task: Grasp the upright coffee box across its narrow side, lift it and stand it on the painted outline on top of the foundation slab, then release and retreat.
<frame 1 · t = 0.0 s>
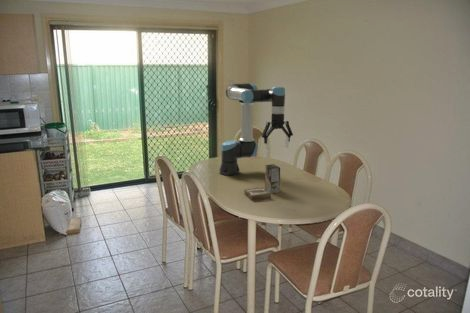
hand: (276, 148, 215), 28 cm above the table, fingers open, 13 cm apart
coffee box: (272, 190, 224), on the table
foundation slab: (257, 196, 214), on the table
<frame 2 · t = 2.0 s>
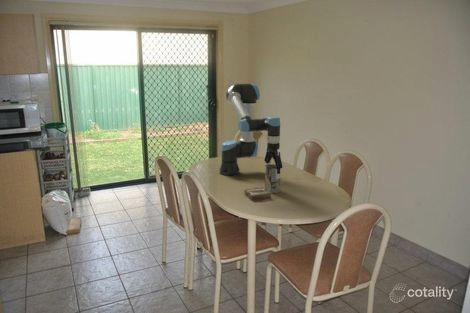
hand: (272, 175, 221), 10 cm above the table, fingers open, 13 cm apart
nothing on the table moved.
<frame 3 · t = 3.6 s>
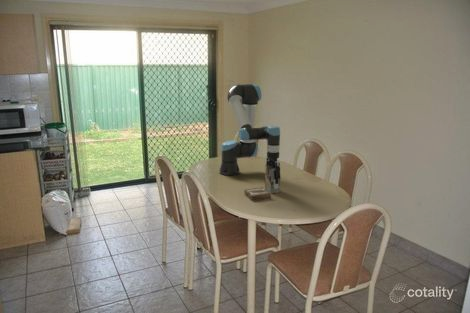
hand: (272, 186, 223), 3 cm above the table, fingers closed on coffee box, 9 cm apart
coffee box: (272, 190, 224), on the table, touching gripper
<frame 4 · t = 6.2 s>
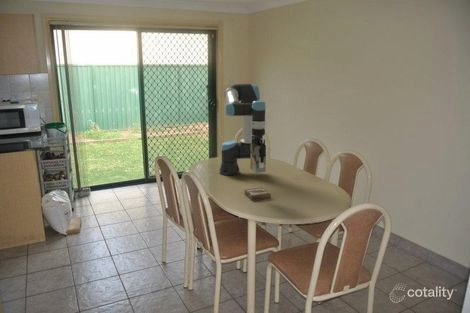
hand: (257, 165, 209), 19 cm above the table, fingers closed on coffee box, 9 cm apart
coffee box: (257, 170, 210), point 16 cm above the table, touching gripper
when the fingers open (7 cm above the table, at t = 9.2 s): coffee box drops 1 cm, resting on foundation slab.
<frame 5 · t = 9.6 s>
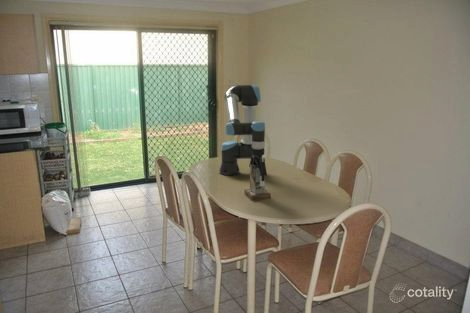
hand: (257, 182, 212), 9 cm above the table, fingers open, 13 cm apart
coffee box: (257, 191, 213), point 3 cm above the table, touching foundation slab
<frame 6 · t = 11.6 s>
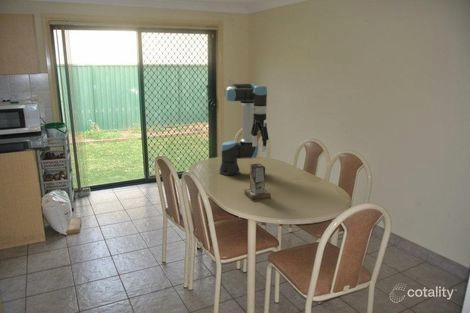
hand: (259, 148, 210), 29 cm above the table, fingers open, 13 cm apart
nothing on the table moved.
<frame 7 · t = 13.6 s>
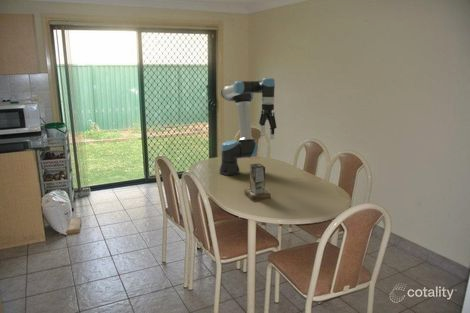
hand: (267, 137, 224), 33 cm above the table, fingers open, 13 cm apart
nothing on the table moved.
at the end: coffee box inside the target area on the foundation slab (0.3 cm from its centre), point 2.9 cm above the foundation slab's base; coffee box tilted 0°; the gripper is holding nothing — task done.
